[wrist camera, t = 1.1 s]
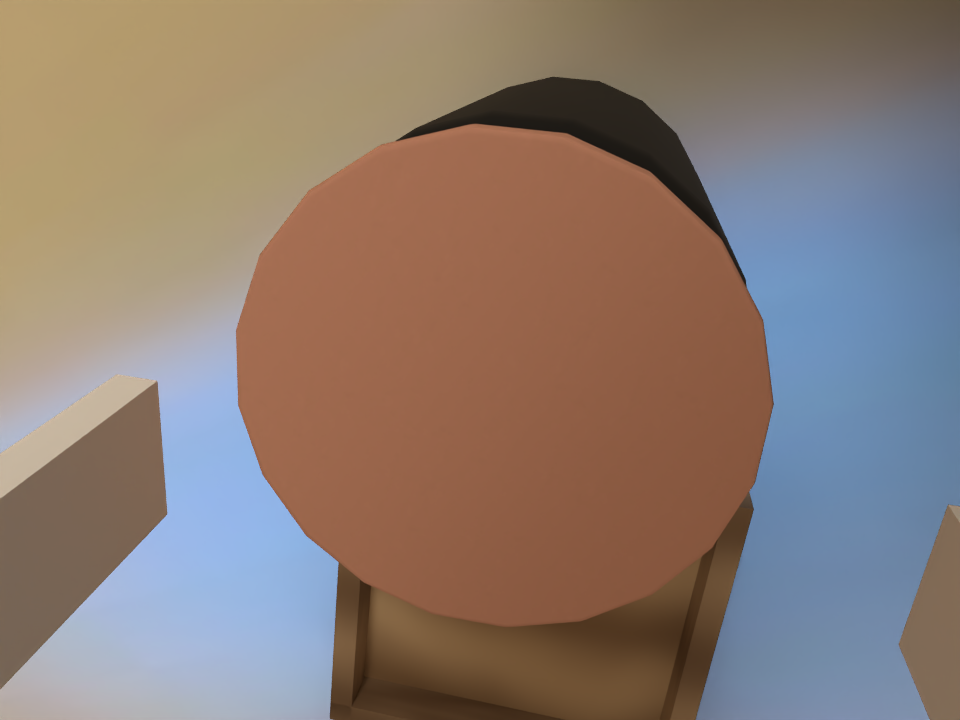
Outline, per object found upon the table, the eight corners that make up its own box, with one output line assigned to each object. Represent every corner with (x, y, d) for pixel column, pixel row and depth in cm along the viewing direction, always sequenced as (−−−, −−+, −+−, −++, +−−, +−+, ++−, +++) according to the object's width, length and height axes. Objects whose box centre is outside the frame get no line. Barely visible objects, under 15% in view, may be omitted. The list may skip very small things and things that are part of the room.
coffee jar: (486, 377, 36) (363, 672, 19) (386, 138, 33) (137, 245, 16) (735, 298, 33) (841, 568, 16) (650, 27, 30) (672, 21, 13)
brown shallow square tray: (374, 394, 37) (345, 434, 33) (740, 459, 35) (753, 509, 32) (355, 659, 43) (329, 718, 39) (670, 726, 41) (674, 795, 37)
